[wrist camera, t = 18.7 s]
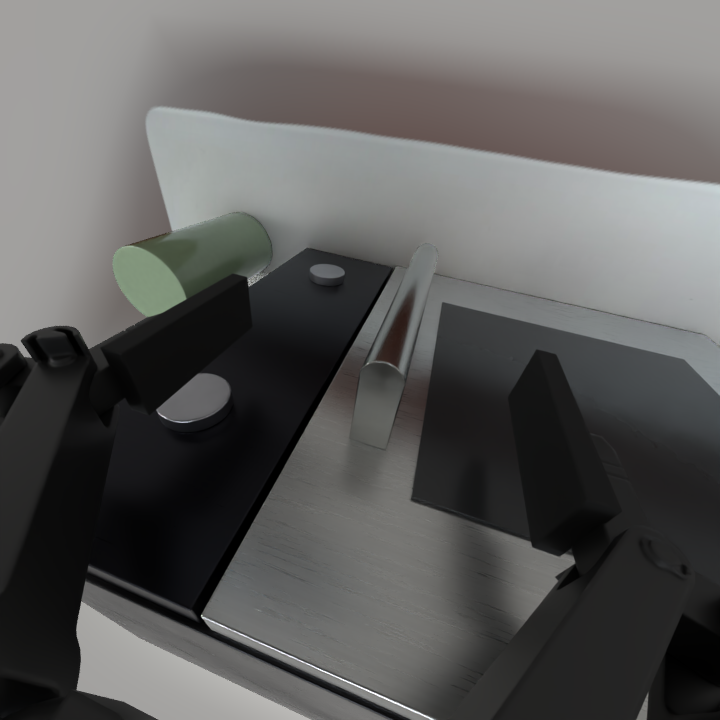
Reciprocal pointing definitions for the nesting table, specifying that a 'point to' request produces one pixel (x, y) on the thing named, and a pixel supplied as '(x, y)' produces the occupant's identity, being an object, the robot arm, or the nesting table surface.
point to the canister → (190, 261)
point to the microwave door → (457, 487)
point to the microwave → (227, 476)
